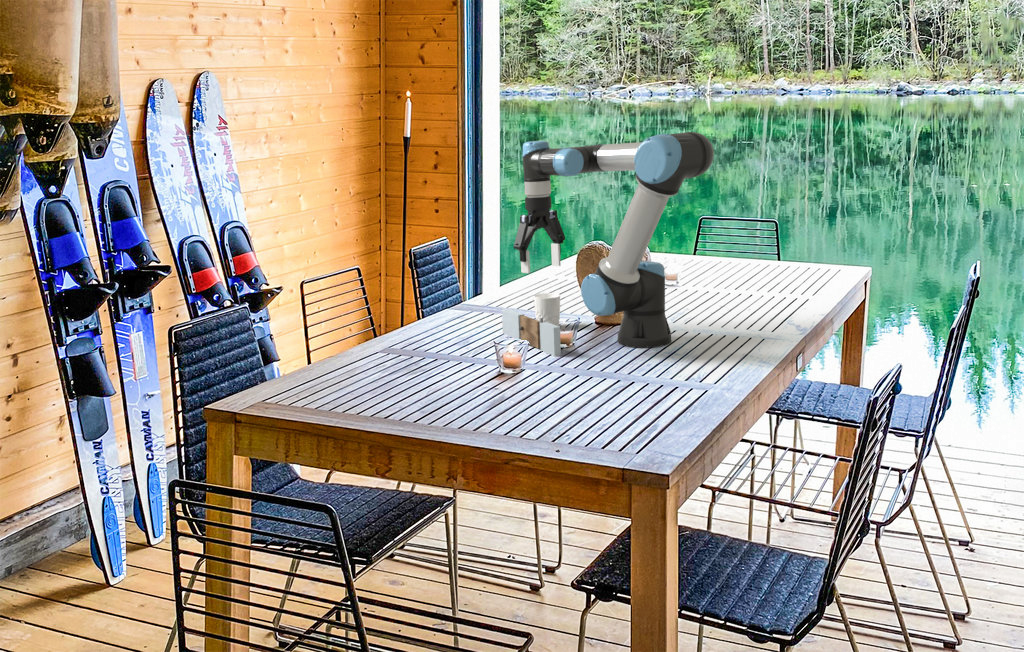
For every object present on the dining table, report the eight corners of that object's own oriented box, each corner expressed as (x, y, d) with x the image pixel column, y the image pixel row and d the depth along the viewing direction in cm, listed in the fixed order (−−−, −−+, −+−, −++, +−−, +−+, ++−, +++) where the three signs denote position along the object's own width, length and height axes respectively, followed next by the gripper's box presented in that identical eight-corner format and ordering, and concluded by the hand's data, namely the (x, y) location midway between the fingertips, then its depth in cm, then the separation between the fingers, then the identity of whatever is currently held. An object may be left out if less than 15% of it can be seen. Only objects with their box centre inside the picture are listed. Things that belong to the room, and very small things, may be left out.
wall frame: (560, 355, 303) (559, 323, 301) (554, 356, 302) (553, 324, 300) (508, 335, 329) (507, 305, 327) (502, 336, 328) (501, 306, 326)
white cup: (551, 332, 330) (550, 299, 328) (529, 329, 335) (528, 296, 333) (566, 326, 337) (565, 294, 334) (544, 324, 341) (543, 292, 339)
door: (541, 347, 311) (540, 321, 309) (534, 348, 310) (533, 322, 308) (524, 340, 319) (523, 315, 318) (517, 342, 318) (516, 316, 317)
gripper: (555, 191, 329) (558, 262, 333) (498, 200, 311) (502, 274, 315) (575, 191, 324) (578, 263, 328) (518, 200, 306) (522, 276, 310)
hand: (541, 269), depth 321 cm, fingers open, 13 cm apart
